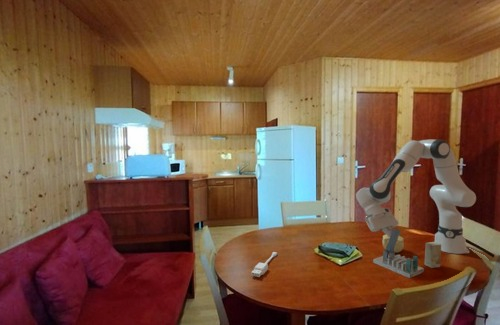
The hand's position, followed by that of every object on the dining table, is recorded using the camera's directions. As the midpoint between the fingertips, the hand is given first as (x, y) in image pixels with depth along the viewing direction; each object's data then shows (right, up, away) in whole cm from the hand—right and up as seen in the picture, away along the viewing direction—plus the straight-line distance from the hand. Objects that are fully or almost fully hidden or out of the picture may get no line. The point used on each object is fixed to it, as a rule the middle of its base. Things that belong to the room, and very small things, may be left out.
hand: (391, 235), depth 143 cm
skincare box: (+21, -16, -1) cm, 27 cm away
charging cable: (-67, -17, +3) cm, 69 cm away
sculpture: (+11, -15, +20) cm, 27 cm away
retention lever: (0, -9, +2) cm, 10 cm away
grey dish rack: (+2, -16, -2) cm, 16 cm away
